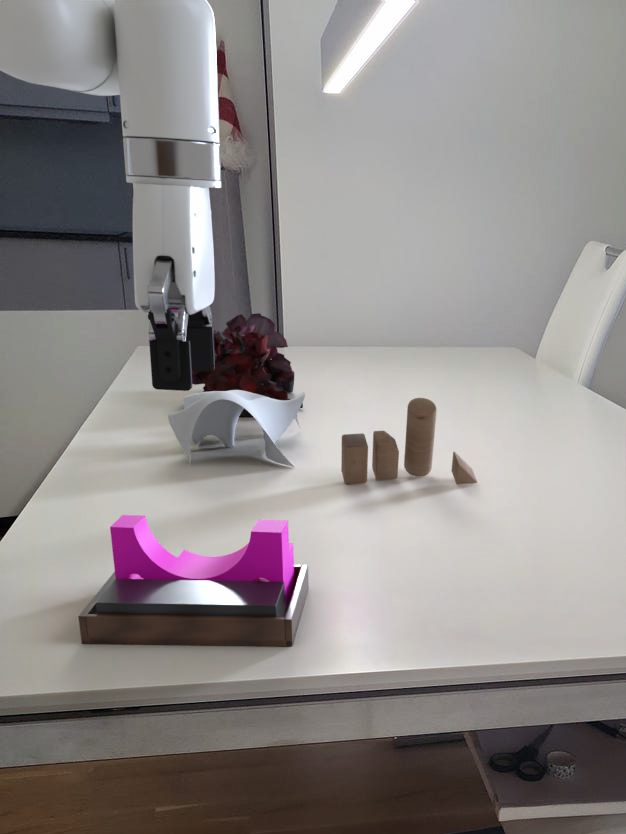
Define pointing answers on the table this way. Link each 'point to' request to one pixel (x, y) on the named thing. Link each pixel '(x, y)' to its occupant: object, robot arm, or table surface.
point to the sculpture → (233, 418)
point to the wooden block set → (387, 452)
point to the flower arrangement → (249, 360)
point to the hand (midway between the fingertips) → (185, 379)
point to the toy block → (253, 562)
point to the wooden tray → (194, 612)
